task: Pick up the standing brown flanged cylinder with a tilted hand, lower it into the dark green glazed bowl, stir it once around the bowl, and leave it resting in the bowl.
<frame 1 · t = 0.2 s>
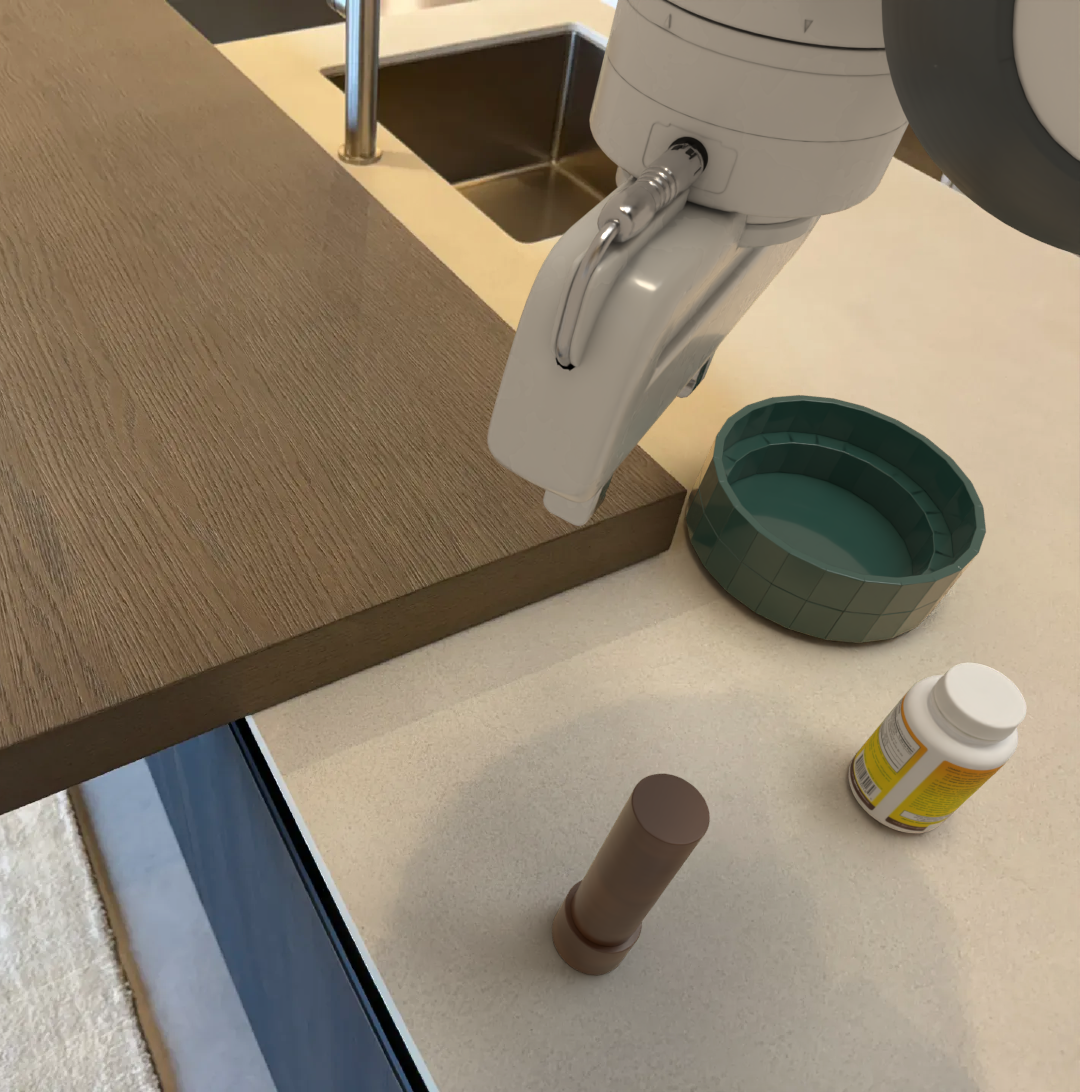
hand: (626, 442, 40), 25 cm above the worktop, tool pointing down, fingers open, 8 cm apart
supplement bottle: (891, 793, 60), on the worktop
bowl: (807, 547, 72), on the worktop
brown flanged cylinder: (588, 937, 53), on the worktop
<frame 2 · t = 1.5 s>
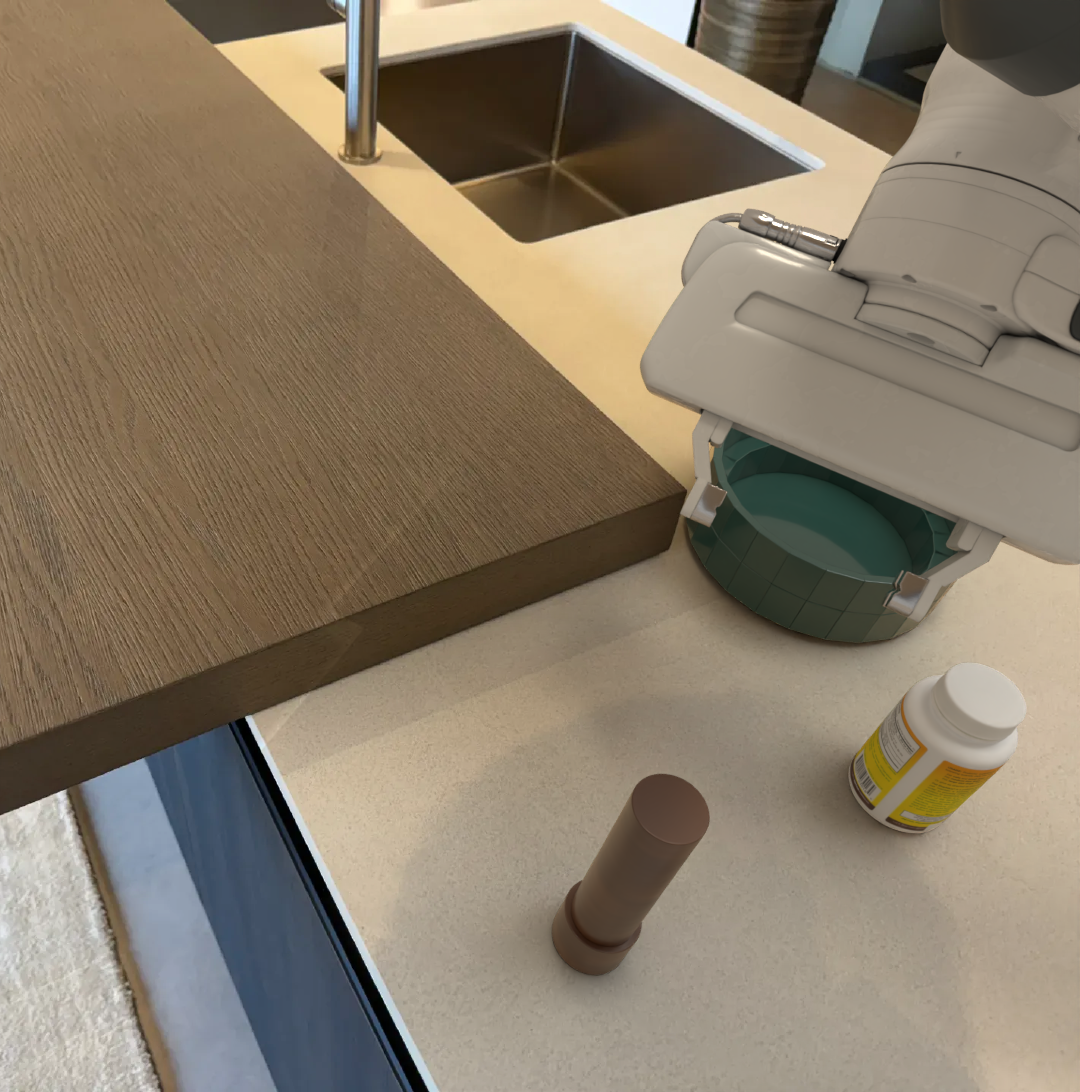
hand: (794, 566, 46), 18 cm above the worktop, tool tilted 45°, fingers open, 8 cm apart
nothing on the worktop moved.
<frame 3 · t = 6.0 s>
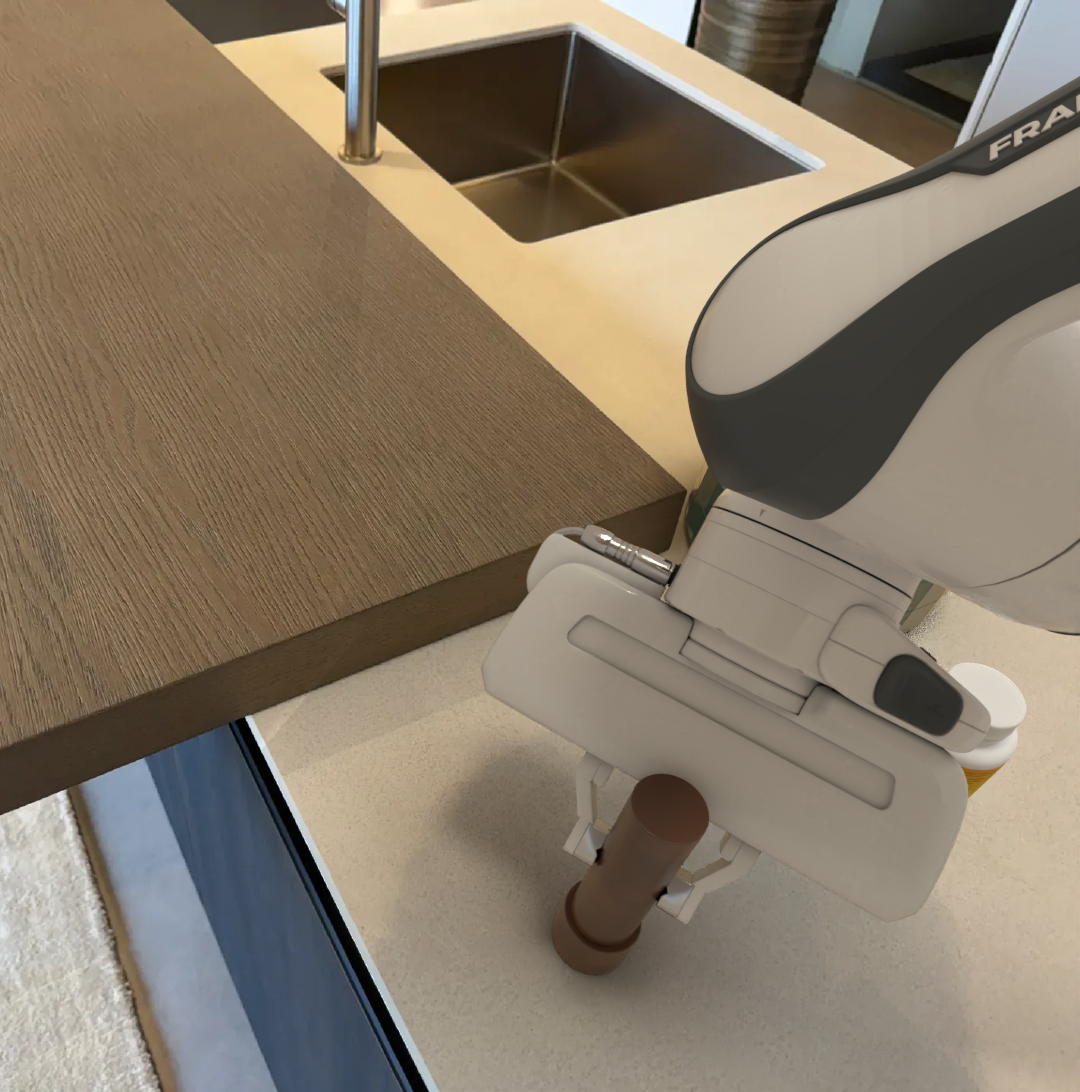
hand: (624, 883, 46), 8 cm above the worktop, tool tilted 45°, fingers closed on brown flanged cylinder, 3 cm apart
brown flanged cylinder: (588, 937, 53), on the worktop, touching gripper
everything else where it was.
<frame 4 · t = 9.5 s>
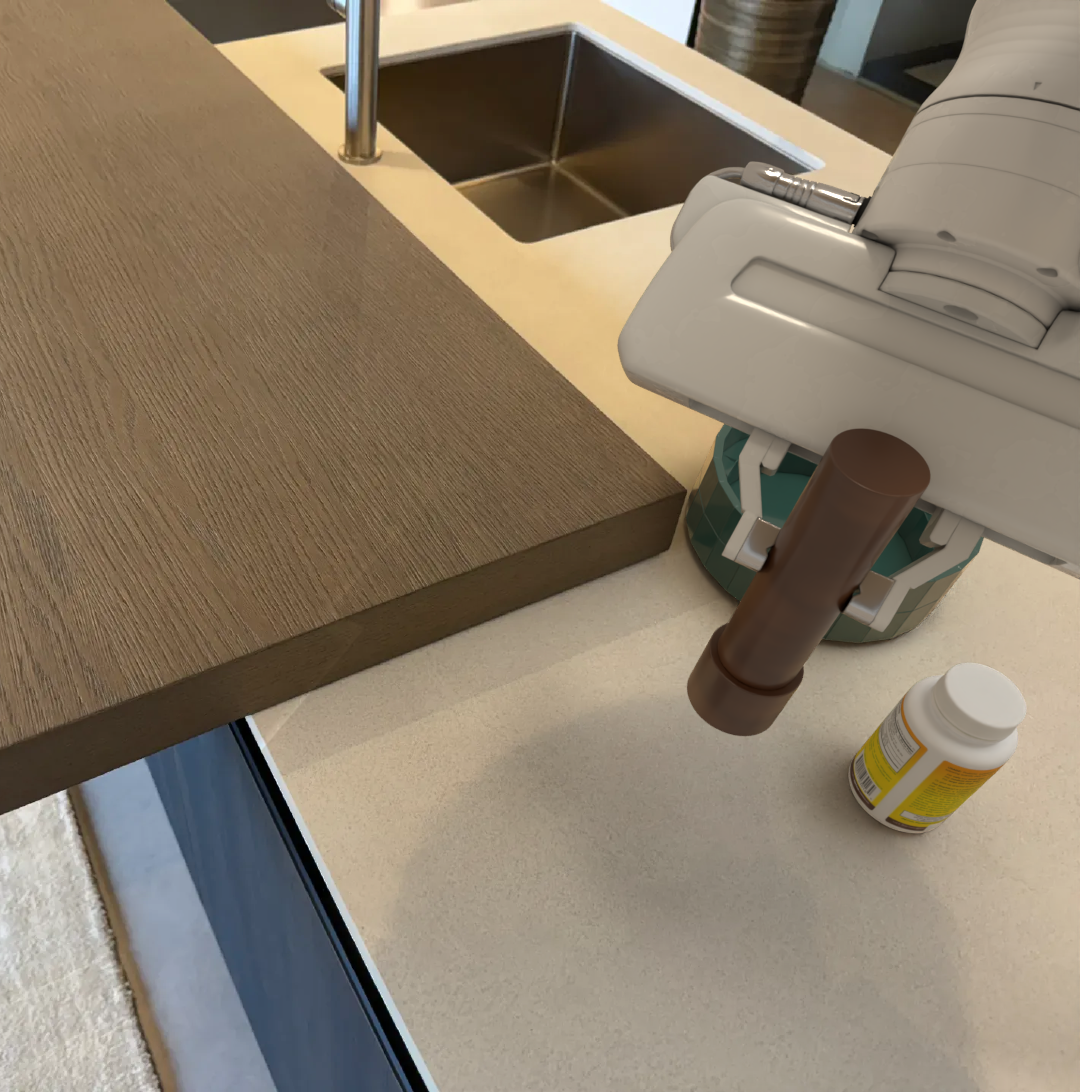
hand: (799, 593, 38), 23 cm above the worktop, tool tilted 45°, fingers closed on brown flanged cylinder, 3 cm apart
brown flanged cylinder: (731, 697, 44), point 16 cm above the worktop, touching gripper
everything else where it was.
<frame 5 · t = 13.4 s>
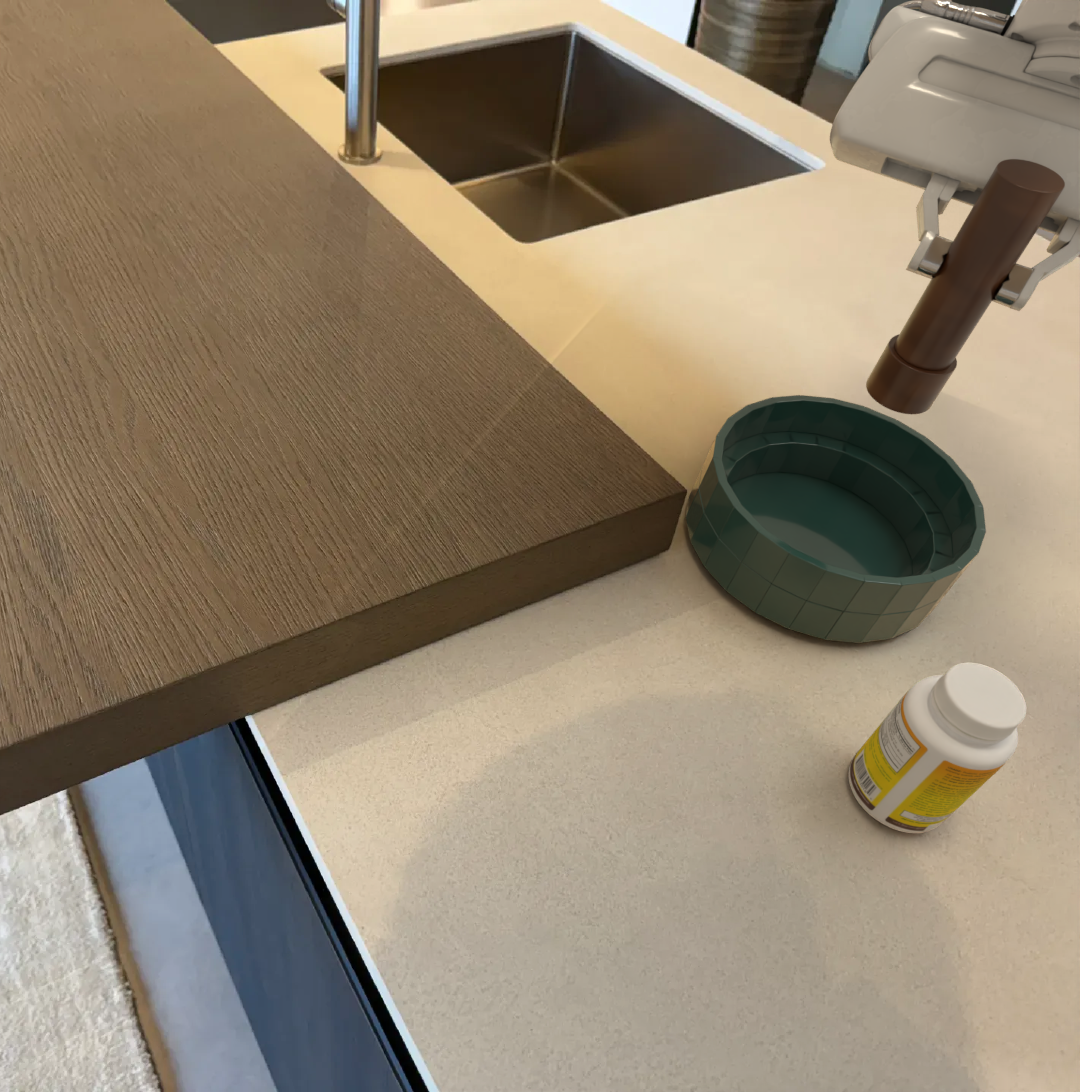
hand: (963, 288, 55), 22 cm above the worktop, tool tilted 45°, fingers closed on brown flanged cylinder, 3 cm apart
brown flanged cylinder: (898, 393, 61), point 14 cm above the worktop, touching gripper
everything else where it was.
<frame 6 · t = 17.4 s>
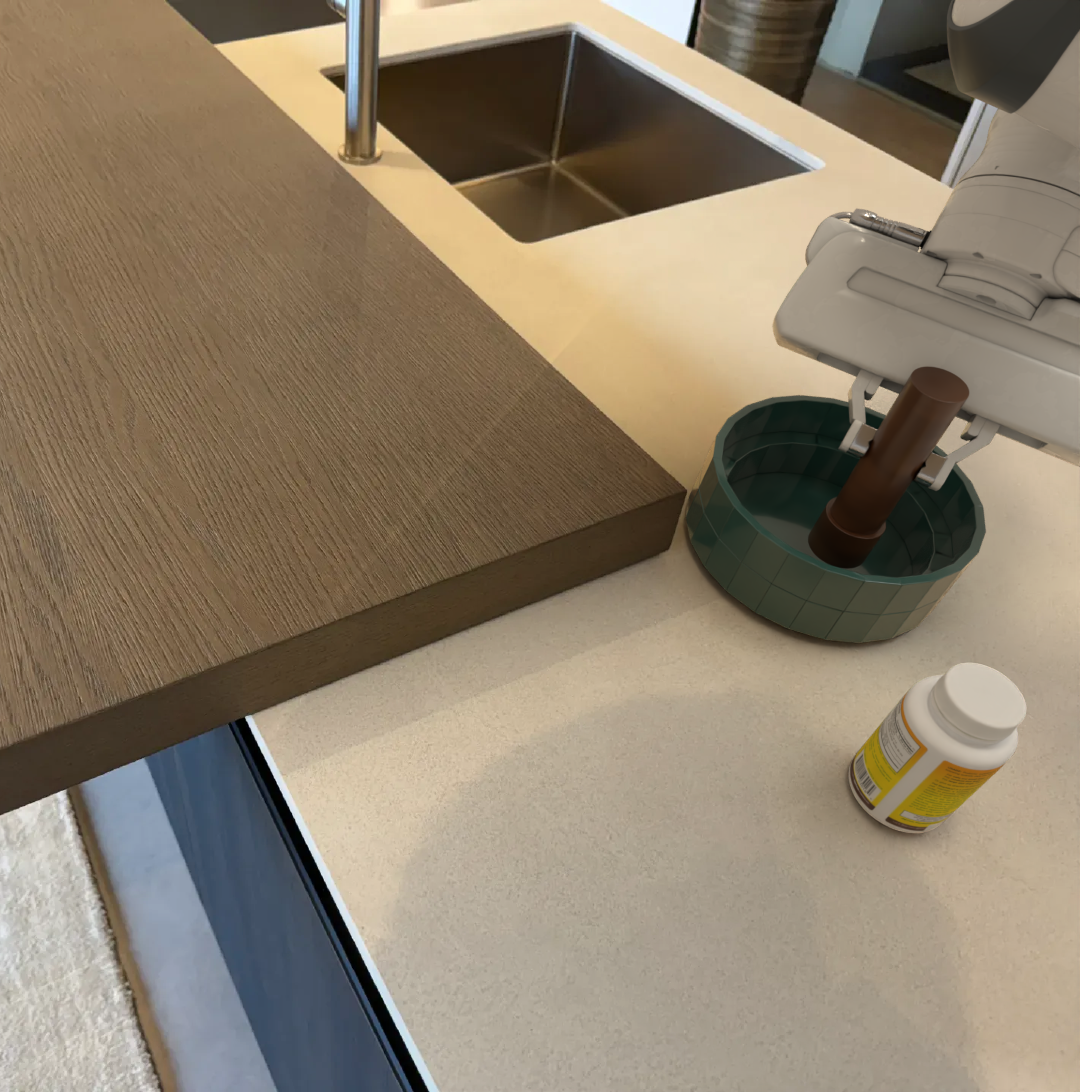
hand: (887, 469, 63), 10 cm above the worktop, tool tilted 45°, fingers closed on brown flanged cylinder, 3 cm apart
brown flanged cylinder: (836, 547, 69), point 2 cm above the worktop, touching gripper
everything else where it was.
when the fingers open (8 cm above the worktop, at t = 20.9 s): brown flanged cylinder stays where it is, resting on bowl.
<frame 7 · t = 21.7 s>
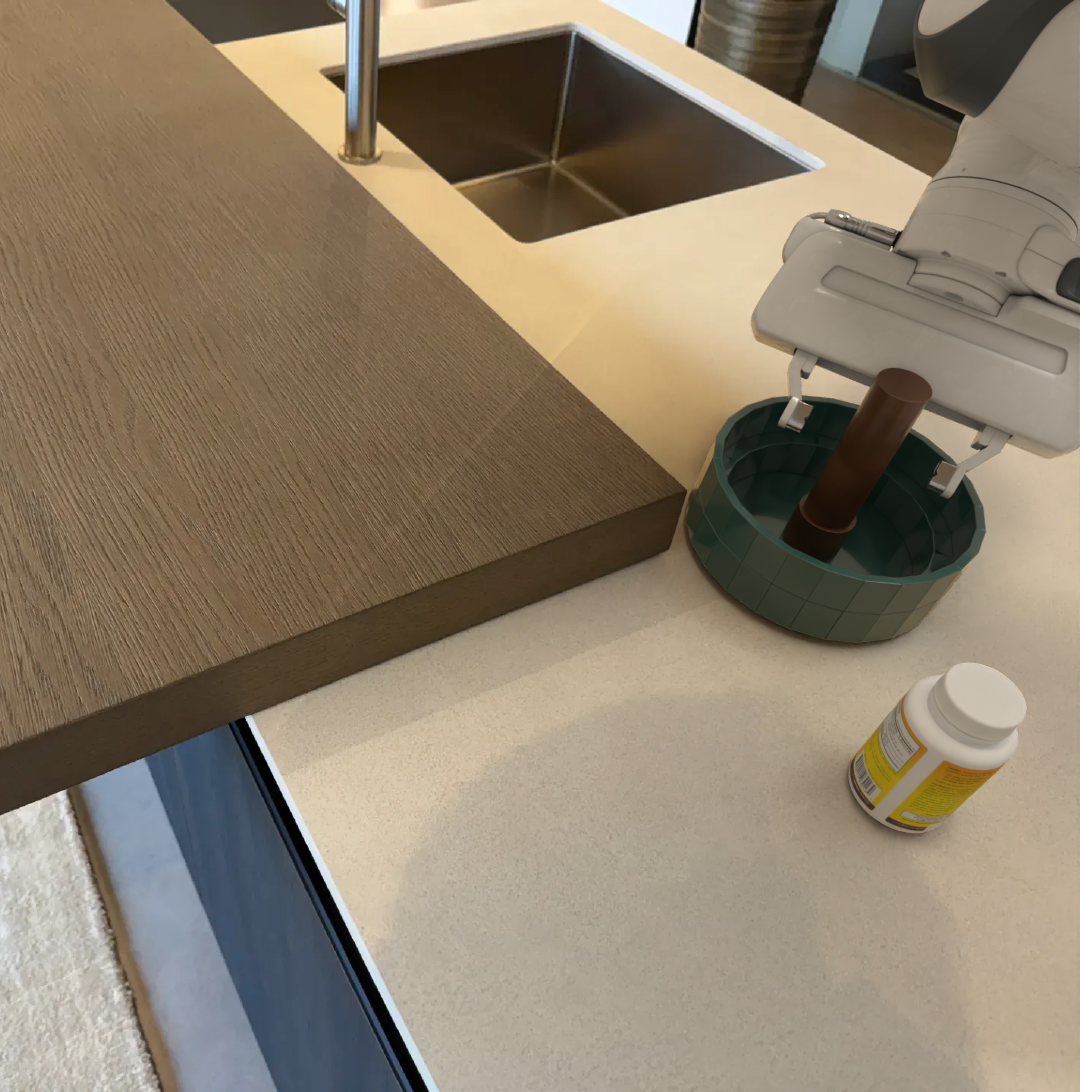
hand: (860, 460, 65), 9 cm above the worktop, tool tilted 45°, fingers open, 8 cm apart
brown flanged cylinder: (810, 541, 71), point 1 cm above the worktop, touching bowl
everything else where it was.
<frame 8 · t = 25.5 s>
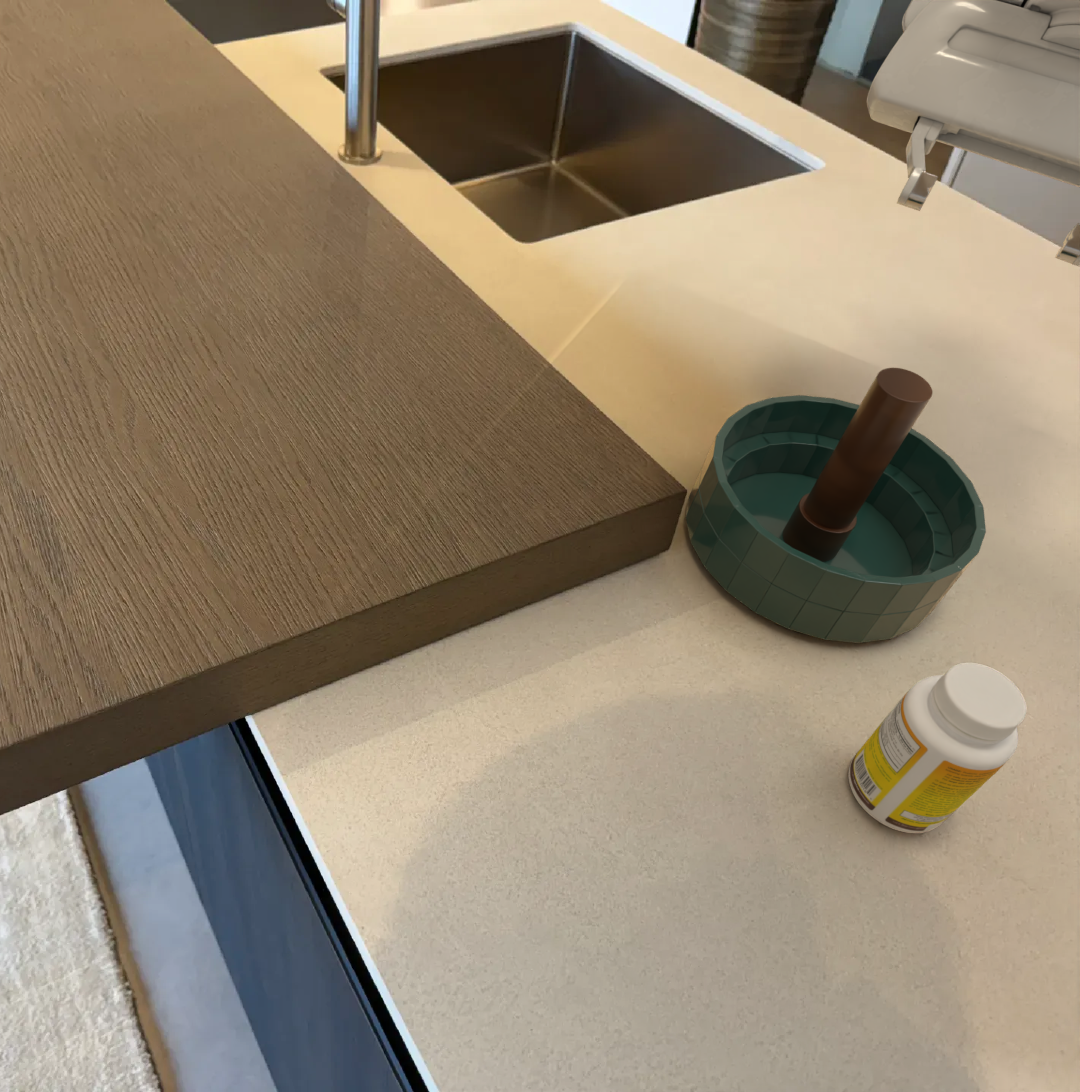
hand: (987, 231, 62), 20 cm above the worktop, tool tilted 45°, fingers open, 8 cm apart
nothing on the worktop moved.
at the end: brown flanged cylinder inside the target area in the bowl (0.0 cm from its centre), point 0.6 cm above the bowl's base; brown flanged cylinder moved 34.0 cm from its start; the gripper is holding nothing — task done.
